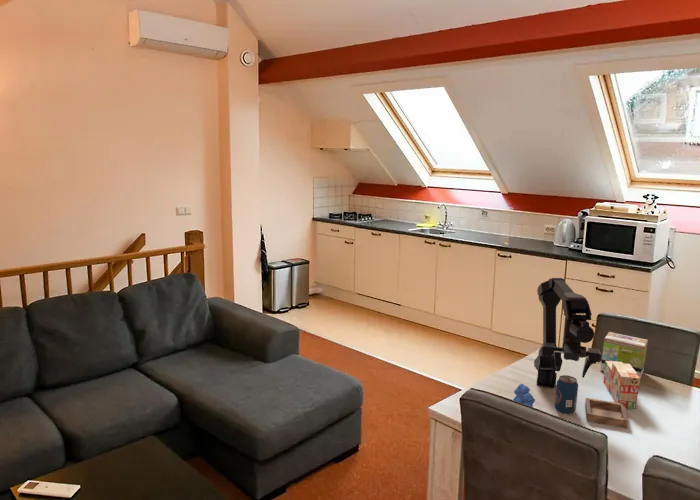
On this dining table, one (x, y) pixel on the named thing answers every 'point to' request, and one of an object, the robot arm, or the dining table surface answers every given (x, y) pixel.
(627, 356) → the tea box
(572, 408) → the soda can
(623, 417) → the brown open box
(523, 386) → the grapes
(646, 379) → the dining table surface
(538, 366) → the robot arm
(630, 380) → the stack of blocks
